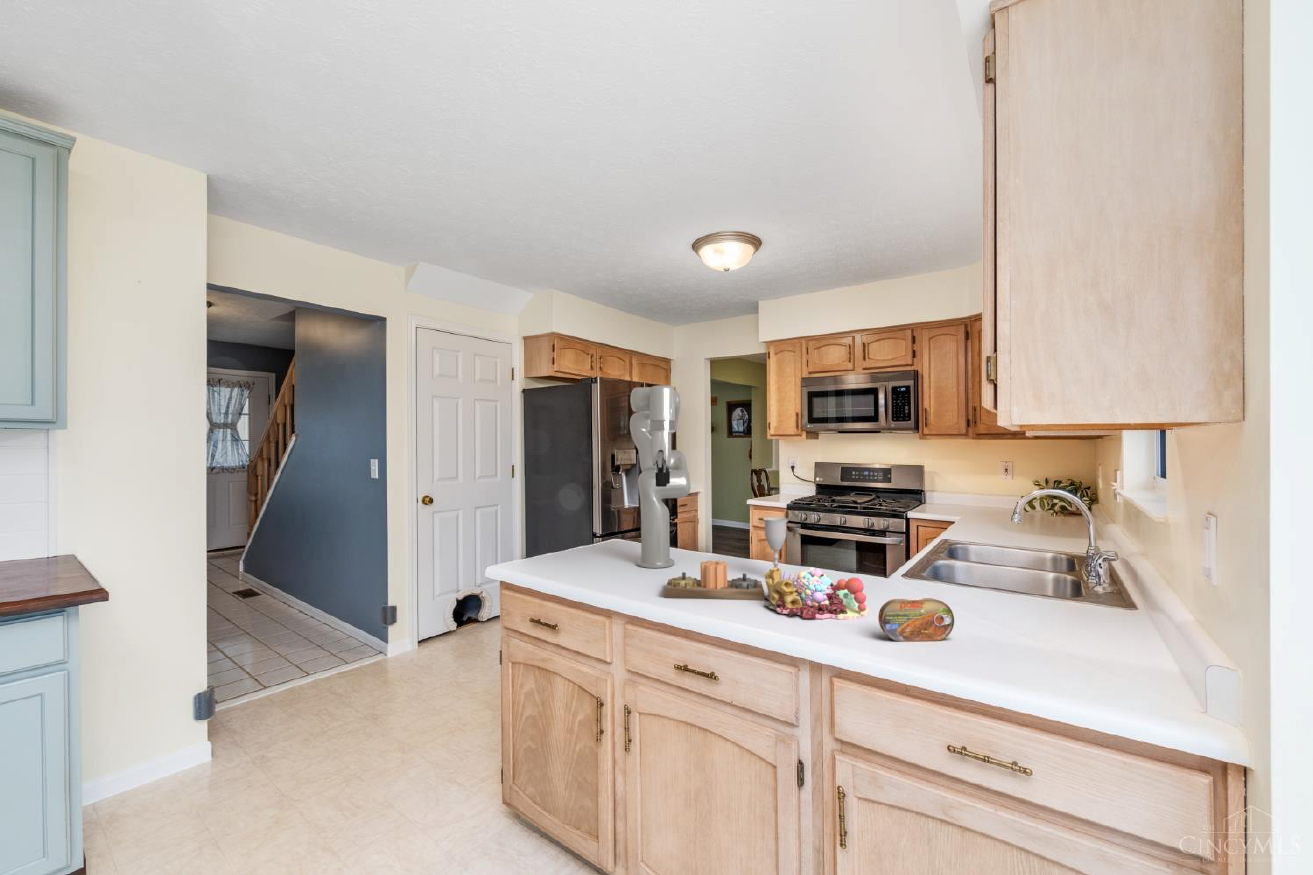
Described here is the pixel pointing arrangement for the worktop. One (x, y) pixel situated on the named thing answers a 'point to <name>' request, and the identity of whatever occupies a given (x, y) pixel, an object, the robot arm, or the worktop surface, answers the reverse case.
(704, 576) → the gear
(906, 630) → the tin
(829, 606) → the coral reef model
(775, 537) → the chalice
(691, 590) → the gear board
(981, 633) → the worktop surface
